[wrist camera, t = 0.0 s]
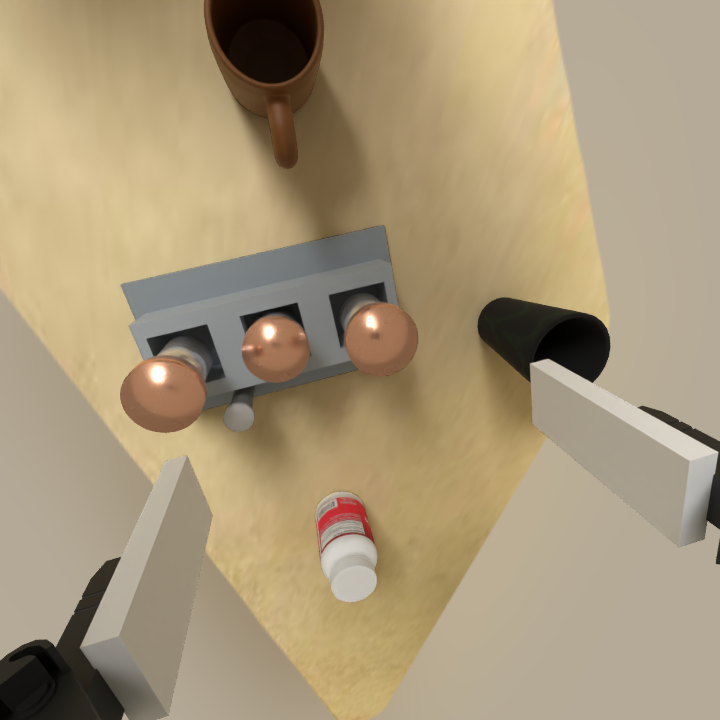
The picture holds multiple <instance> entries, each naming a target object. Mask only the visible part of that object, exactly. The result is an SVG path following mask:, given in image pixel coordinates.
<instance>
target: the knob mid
mask: <svg viewBox="0 0 720 720" xmlns="http://www.w3.org/2000/svg"><path fill="white" fill-rule="evenodd" d="M309 356H310V346H309V341H308V337H307V334H306V332H305V331H304V329H303V328H302V327H301V325H300V324H298V320H297V317H296V315H295V313H294V312H293V311H292V310H291V309H290V308H288V307H286V306H281V307H277V308H272V309H268V310H264V311H260V312H259V313H258V315H257V317H256V321H255V322H254V323H253V324H252V325H251V326H250V327H249V329H248V330H247V332H246V334H245V337H244V340H243V344H242V357H243V361H244V363H245V365H246V367H247V368H248V370H249V371H250V372H251V373H252V374H253V375H255V376H256V377H257V378H259V379H261V380H264V381H267V382H273V383H279V382H285V381H288V380H291V379H293V378H295V377H296V376H298V375H299V374H300V373H301V372H302V371H303V370H304V368H305V367H306V365H307V363H308V360H309Z"/></svg>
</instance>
